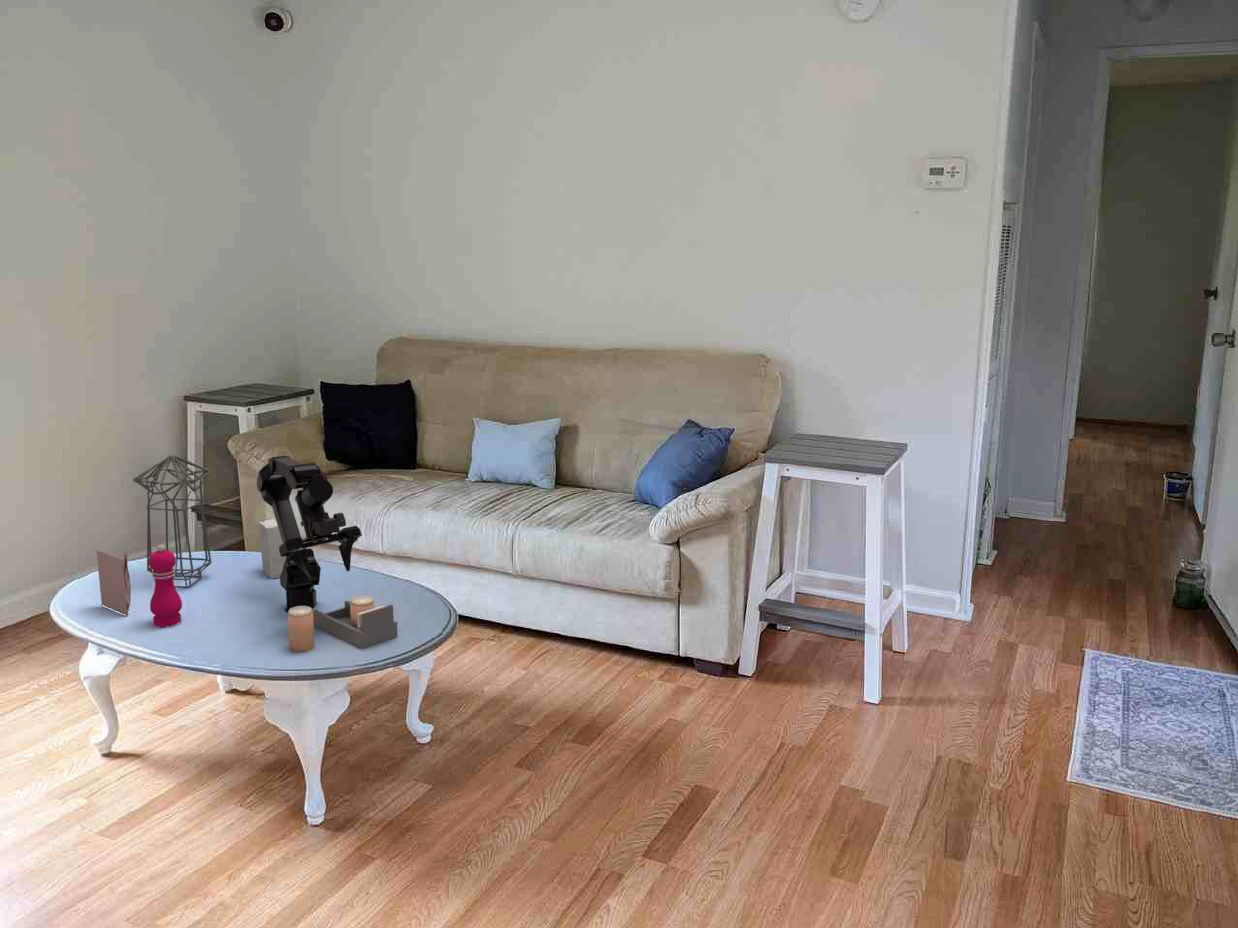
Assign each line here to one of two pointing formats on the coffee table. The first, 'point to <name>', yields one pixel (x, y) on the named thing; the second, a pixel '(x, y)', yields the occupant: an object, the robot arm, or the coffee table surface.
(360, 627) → the panel
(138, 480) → the geometric lantern
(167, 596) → the pepper mill
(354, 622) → the jar in lane
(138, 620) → the coffee table surface
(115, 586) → the brown paper bag
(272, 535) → the skincare box
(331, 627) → the tray
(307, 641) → the terracotta jar
